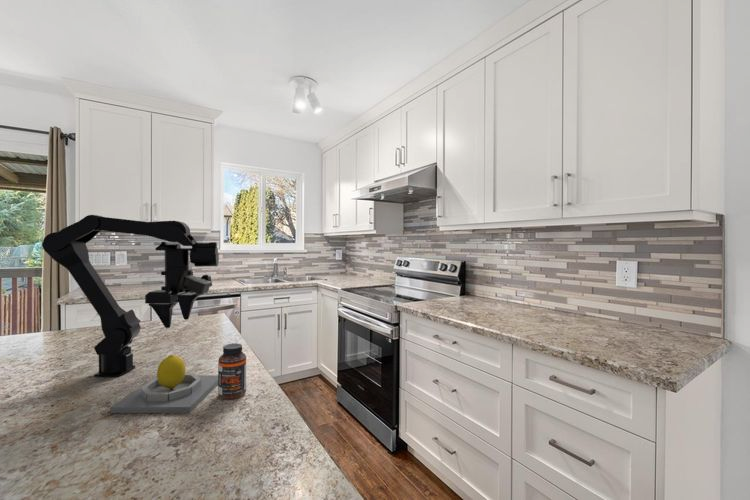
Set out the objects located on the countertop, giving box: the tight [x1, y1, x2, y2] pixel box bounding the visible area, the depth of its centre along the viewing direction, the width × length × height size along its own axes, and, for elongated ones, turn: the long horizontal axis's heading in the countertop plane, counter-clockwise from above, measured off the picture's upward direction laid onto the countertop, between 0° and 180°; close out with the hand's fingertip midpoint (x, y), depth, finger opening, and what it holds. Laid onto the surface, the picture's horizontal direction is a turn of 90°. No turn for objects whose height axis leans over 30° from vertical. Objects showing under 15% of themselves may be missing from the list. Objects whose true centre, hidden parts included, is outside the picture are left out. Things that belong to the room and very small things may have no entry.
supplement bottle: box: [217, 342, 247, 401], centre depth 77 cm, size 6×6×11 cm
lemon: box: [156, 354, 186, 390], centre depth 77 cm, size 6×6×8 cm
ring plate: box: [109, 372, 218, 414], centre depth 77 cm, size 16×16×3 cm
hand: (177, 323), depth 93 cm, fingers open, 9 cm apart
